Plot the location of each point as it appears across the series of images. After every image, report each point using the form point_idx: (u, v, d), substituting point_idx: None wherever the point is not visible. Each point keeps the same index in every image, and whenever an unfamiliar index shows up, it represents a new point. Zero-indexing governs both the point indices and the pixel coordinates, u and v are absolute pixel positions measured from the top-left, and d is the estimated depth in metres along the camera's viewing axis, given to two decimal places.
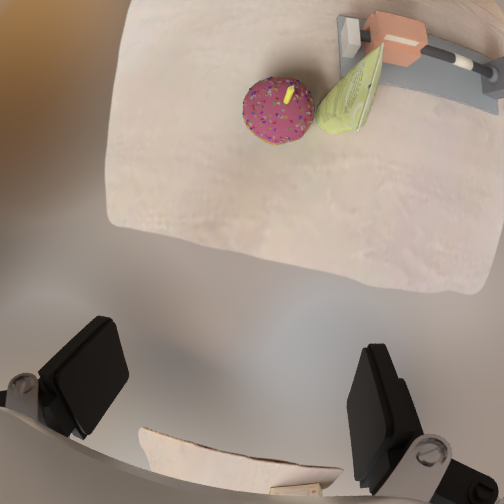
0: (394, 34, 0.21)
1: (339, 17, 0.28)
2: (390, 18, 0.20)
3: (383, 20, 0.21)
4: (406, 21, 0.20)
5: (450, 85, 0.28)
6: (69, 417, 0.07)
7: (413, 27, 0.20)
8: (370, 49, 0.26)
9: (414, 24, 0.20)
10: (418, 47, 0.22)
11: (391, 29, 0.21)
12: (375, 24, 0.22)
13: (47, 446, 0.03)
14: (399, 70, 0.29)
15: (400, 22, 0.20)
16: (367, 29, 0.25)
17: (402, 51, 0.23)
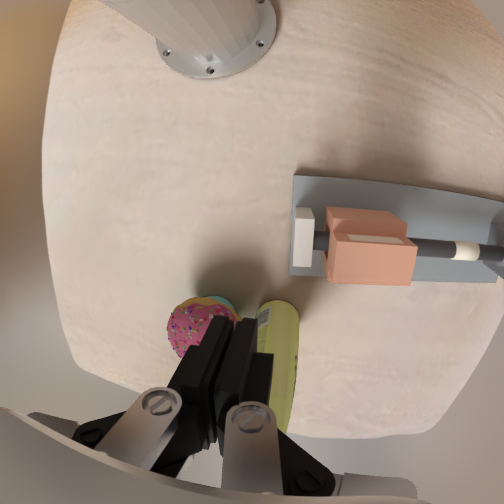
0: (356, 283, 0.19)
1: (295, 179, 0.26)
2: (358, 253, 0.19)
3: (344, 260, 0.19)
4: (385, 253, 0.18)
5: (440, 264, 0.27)
6: (204, 428, 0.07)
7: (394, 262, 0.18)
8: (325, 268, 0.24)
9: (398, 255, 0.18)
10: None
11: (354, 275, 0.19)
12: (332, 256, 0.20)
13: (47, 446, 0.03)
14: None
15: (374, 258, 0.18)
16: (329, 224, 0.24)
17: None
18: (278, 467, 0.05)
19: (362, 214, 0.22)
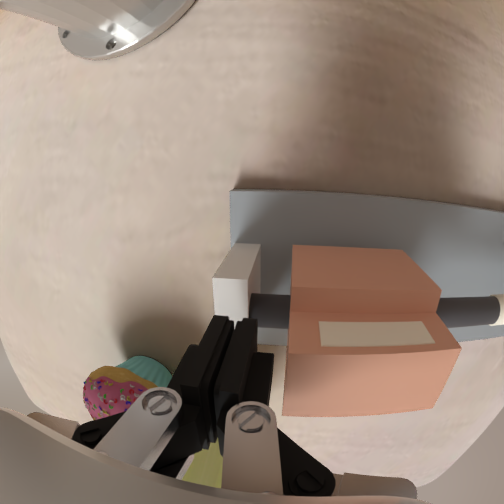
0: (330, 415, 0.09)
1: (233, 197, 0.16)
2: (336, 373, 0.08)
3: (306, 384, 0.08)
4: (395, 368, 0.08)
5: None
6: (204, 427, 0.07)
7: (410, 381, 0.08)
8: None
9: (420, 369, 0.08)
10: None
11: (326, 405, 0.09)
12: (286, 366, 0.10)
13: (47, 446, 0.03)
14: None
15: (370, 378, 0.08)
16: None
17: None
18: (278, 467, 0.05)
19: (355, 265, 0.12)
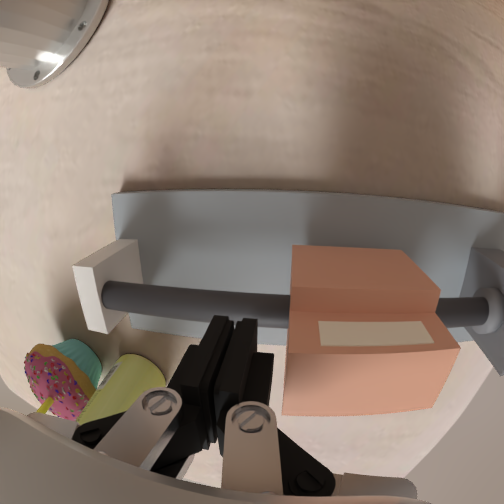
0: (329, 414, 0.09)
1: (114, 199, 0.17)
2: (336, 372, 0.08)
3: (306, 384, 0.08)
4: (395, 367, 0.08)
5: None
6: (204, 427, 0.07)
7: (410, 380, 0.08)
8: None
9: (419, 368, 0.08)
10: None
11: (326, 405, 0.09)
12: None
13: (47, 446, 0.03)
14: None
15: (369, 377, 0.08)
16: None
17: None
18: (278, 467, 0.05)
19: (355, 265, 0.12)
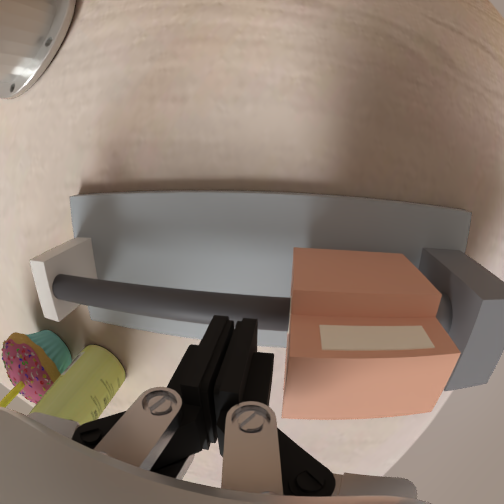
0: (329, 418, 0.09)
1: (71, 201, 0.17)
2: (336, 376, 0.08)
3: (306, 387, 0.08)
4: (395, 372, 0.08)
5: None
6: (204, 428, 0.07)
7: (410, 385, 0.08)
8: None
9: (419, 373, 0.08)
10: None
11: (326, 408, 0.09)
12: (286, 369, 0.10)
13: (47, 446, 0.03)
14: None
15: (370, 381, 0.08)
16: None
17: None
18: (278, 467, 0.05)
19: (356, 269, 0.12)
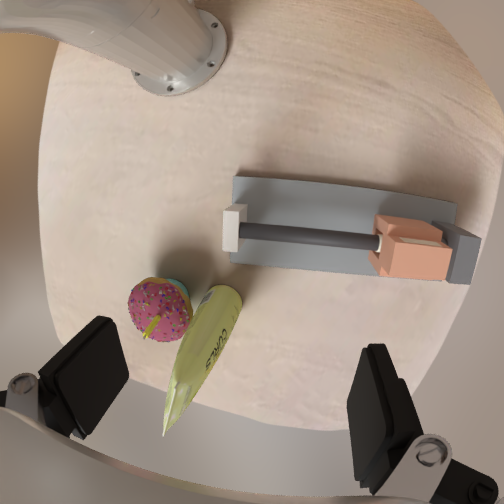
0: (406, 276, 0.22)
1: (234, 179, 0.31)
2: (410, 252, 0.22)
3: (399, 257, 0.22)
4: (429, 253, 0.22)
5: None
6: (69, 417, 0.07)
7: (435, 261, 0.22)
8: (375, 266, 0.27)
9: (438, 255, 0.21)
10: None
11: (405, 270, 0.22)
12: (388, 255, 0.23)
13: (47, 446, 0.03)
14: (304, 250, 0.32)
15: (421, 256, 0.22)
16: (379, 229, 0.27)
17: None
18: None
19: (406, 222, 0.26)
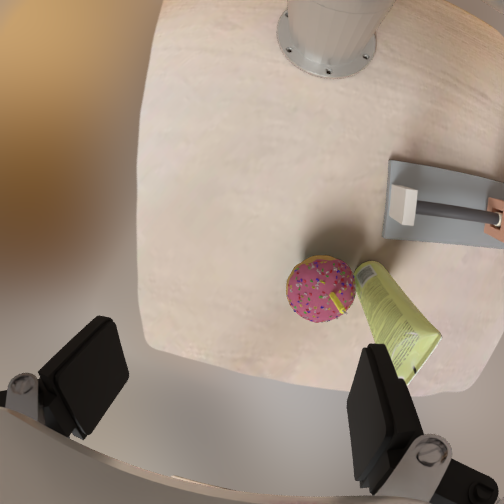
0: None
1: (392, 163, 0.31)
2: None
3: None
4: None
5: (484, 233, 0.32)
6: (69, 417, 0.07)
7: None
8: (496, 236, 0.27)
9: None
10: None
11: None
12: None
13: (47, 446, 0.03)
14: (440, 226, 0.33)
15: None
16: (496, 208, 0.27)
17: None
18: None
19: None
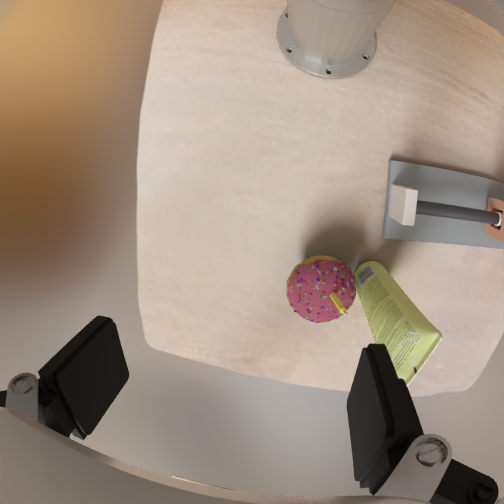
0: None
1: (392, 163, 0.31)
2: None
3: None
4: None
5: (484, 233, 0.32)
6: (69, 417, 0.07)
7: None
8: (496, 236, 0.27)
9: None
10: None
11: None
12: None
13: (47, 446, 0.03)
14: (440, 226, 0.33)
15: None
16: (496, 208, 0.27)
17: None
18: None
19: None
